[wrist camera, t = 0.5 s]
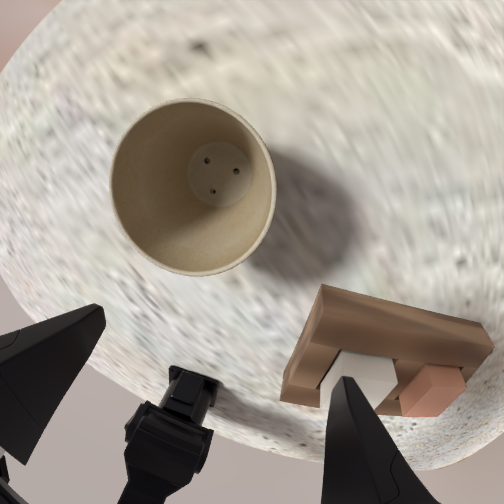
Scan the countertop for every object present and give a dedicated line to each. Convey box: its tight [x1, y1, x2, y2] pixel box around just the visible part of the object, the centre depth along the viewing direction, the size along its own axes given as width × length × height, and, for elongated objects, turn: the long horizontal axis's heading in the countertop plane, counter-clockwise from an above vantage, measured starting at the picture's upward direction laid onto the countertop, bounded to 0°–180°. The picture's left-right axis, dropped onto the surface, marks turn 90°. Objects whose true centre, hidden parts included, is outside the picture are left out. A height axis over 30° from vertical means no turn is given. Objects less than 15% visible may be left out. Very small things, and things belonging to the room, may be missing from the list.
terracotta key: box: [399, 363, 467, 417], centre depth 19 cm, size 5×5×3 cm
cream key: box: [320, 349, 398, 410], centre depth 20 cm, size 5×5×3 cm
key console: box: [280, 284, 495, 416], centre depth 22 cm, size 12×20×4 cm, turn 78°
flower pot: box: [109, 98, 277, 276], centre depth 17 cm, size 10×10×7 cm
